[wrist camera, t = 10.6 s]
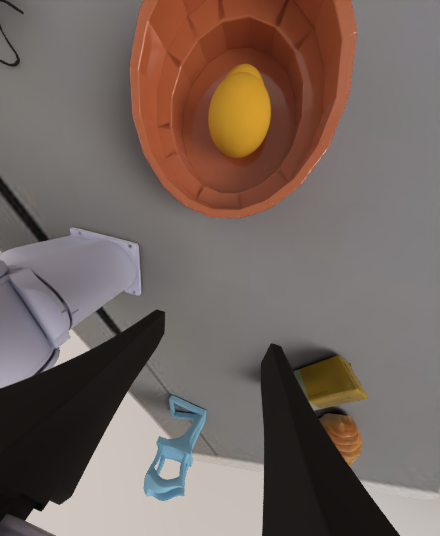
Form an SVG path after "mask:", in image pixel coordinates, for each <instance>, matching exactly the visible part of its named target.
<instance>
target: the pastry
mask: <svg viewBox="0 0 440 536" xmlns="http://www.w3.org/2000/svg"><path fill="white" fill-rule="evenodd" d="M318 419H319V420H320V422H321V424H322V425H323V427H324V428H325V430H326V432H327V433H328V435H329V436H330V438H331V440H332V441H333V443H334V444H335V446H336V447H337V449H338V450H339V452H340V453H341V455H342V456H343V458H344V459H345V461H346V462H347V463H348V465H350V466H351V465H352V462H353V461H355V458H357V457H358V456H359V455H360V453H361V447H362V439H361V436H360V434H359V431H358V428H357V426H356V424H355V422H354V420H353V419H352V418H351V417H350V416H349V415H347V416H344V415H339V414H330V413H328V414H327V413H326V414H323V416H322V417H321V418H318Z"/></svg>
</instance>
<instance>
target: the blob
mask: <svg viewBox="0 0 440 536" xmlns="http://www.w3.org/2000/svg"><path fill="white" fill-rule="evenodd" d="M270 118H271V104H270V98H269V95H268V92H267V90H266V88H265V86H264V82H263V79H262V77H261V75H260V73H259V71H258V70H257V69H256V68H255V67H254V66H252V65H250V64H240V65H237V66H236V67H234V68H233V69H232V70H231V71H230V72H229V73H228V75H227V76H226V78H225V79H224V80H223V81H222V82H221V83H220V84H219V86H218V87H217V89H216V91H215V92H214V95H213V97H212V100H211V103H210V107H209V116H208V122H209V130H210V134H211V137H212V140H213V142H214V144H215V145H216V147H217V148H218V149H219V150H220V151H221V152H222V153H223V154H225V155H227V156H229V157H232V158H243V157H246V156H248V155H250V154H251V153H253V152H254V151H255V150H256V149H257V148H258V147H259V146H260V145H261V143H262V142H263V140H264V138H265V136H266V134H267V131H268V128H269V124H270Z"/></svg>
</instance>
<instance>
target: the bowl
mask: <svg viewBox="0 0 440 536" xmlns="http://www.w3.org/2000/svg"><path fill="white" fill-rule="evenodd" d="M139 11H140V12H139V15H138V20H137V26H136V32H135V37H134V43H133V49H132V55H131V60H130V84H131V102H132V115H133V119H134V123H135V126H136V129H137V133H138V136H139V140H140V143H141V146H142V150H143V153H144V155H145V157H146V159H147V161H148V162H149V164H150V166H151V167H152V169H153V171H154V172H155V174H156V176H157V177H158V179H159V181H160V182H161V184H162V186H163V187H164V188H166V189H167V190H168V191H169V192H170V193H171V194H172V195H173V196H174V197H175V198H177V199H178V200H179V201H180V202H181V203H182V204H183V205H184V206H186V207H188V208H190V209H193V210H195V211H197V212H200V213H202V214H205V215H207V216H209V217H217V218H242V217H245V216H248V215H251V214H254V213H257V212H260V211H263V210H266V209H269V208H271V207H272V206H274V205H275V204H276V203H278V202H279V201H280V200H282V199H283V198H284V197H286V196H287V195H288V194H290V193H291V192H292V191H294V190H295V189H296V188H298V187H299V186H300V185H301V184H302V183H303V181H304V180H305V179H306V177H307V176H308V175H309V173H310V172H311V171H312V169H313V168H314V167H315V165H316V164H317V163H318V161H319V160H320V158H321V157H322V156H323V154H324V153H325V152H326V150H327V148H328V147H329V145H330V142H331V140H332V137H333V135H334V132H335V130H336V128H337V125H338V123H339V120H340V118H341V115H342V113H343V110H344V108H345V105H346V103H347V100H348V96H349V93H350V85H351V76H352V68H353V60H354V52H355V44H356V35H357V34H356V32H357V29H356V24H355V18H354V13H353V7H352V2H351V0H144V1H143V3H142V5H141V7H140V10H139ZM240 64H250V65H252V66H254V67H255V68H256V69H257V70H258V71H259V73H260V75H261V77H262V79H263V82H264V86H265V88H266V90H267V92H268V95H269V98H270V104H271V118H270V124H269V128H268V131H267V134H266V136H265V138H264V140H263V142H262V143H261V145H260V146H259V147H258V148H257V149H256V150H255V151H254V152H253V153H251V154H250V155H248V156H246V157H243V158H232V157H229V156H227V155H225V154H223V153H222V152H221V151H220V150H219V149H218V148H217V147H216V145H215V144H214V142H213V140H212V137H211V134H210V130H209V122H208V116H209V107H210V103H211V100H212V97H213V95H214V92H215V91H216V89H217V87H218V86H219V84H220V83H221V82H222V81H223V80H224V79H225V78H226V76H227V75H228V73H229V72H230V71H231V70H232V69H233V68H234V67H236V66H237V65H240Z"/></svg>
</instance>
